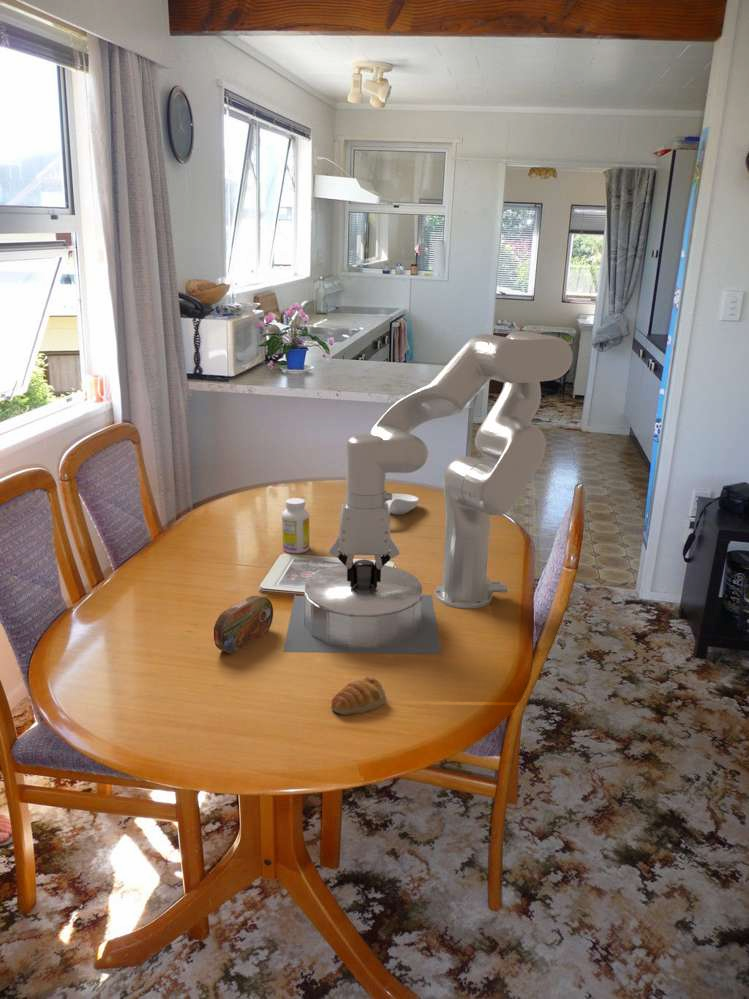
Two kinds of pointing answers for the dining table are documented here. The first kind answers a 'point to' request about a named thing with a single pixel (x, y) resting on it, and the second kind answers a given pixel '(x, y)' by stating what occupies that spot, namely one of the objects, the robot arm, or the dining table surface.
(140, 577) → the dining table surface
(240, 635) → the tin
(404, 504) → the spoon rest
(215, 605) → the dining table surface
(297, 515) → the supplement bottle
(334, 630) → the lidded metal pot
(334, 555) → the robot arm
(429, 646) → the rubber mat
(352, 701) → the pastry
